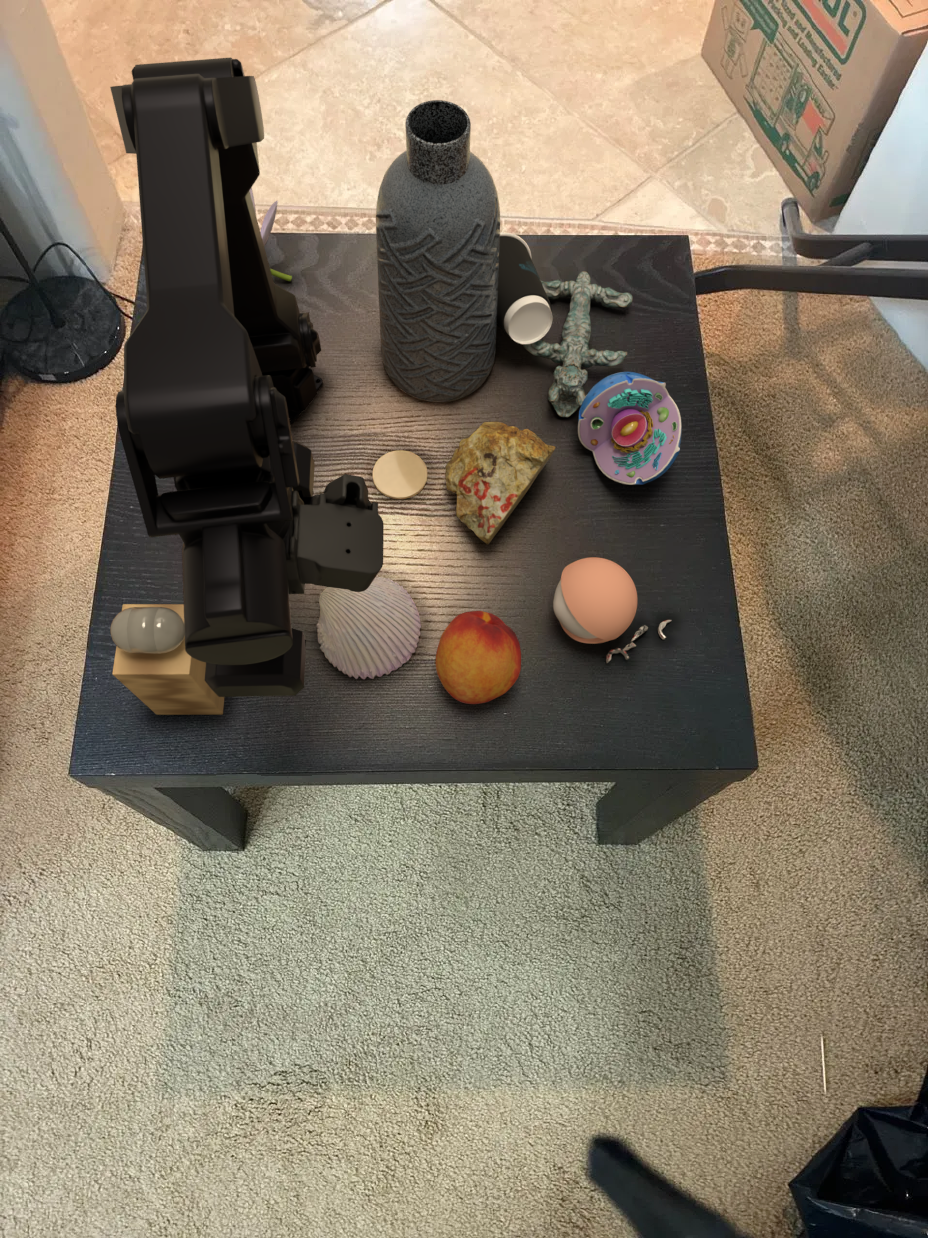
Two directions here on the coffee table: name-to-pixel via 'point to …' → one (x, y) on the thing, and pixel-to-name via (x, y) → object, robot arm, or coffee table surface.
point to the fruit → (478, 657)
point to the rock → (494, 474)
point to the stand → (167, 678)
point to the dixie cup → (520, 293)
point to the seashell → (368, 628)
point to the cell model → (630, 427)
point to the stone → (147, 630)
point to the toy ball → (595, 600)
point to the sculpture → (577, 340)
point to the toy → (636, 635)
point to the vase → (438, 259)
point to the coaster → (399, 474)
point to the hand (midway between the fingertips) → (283, 611)
